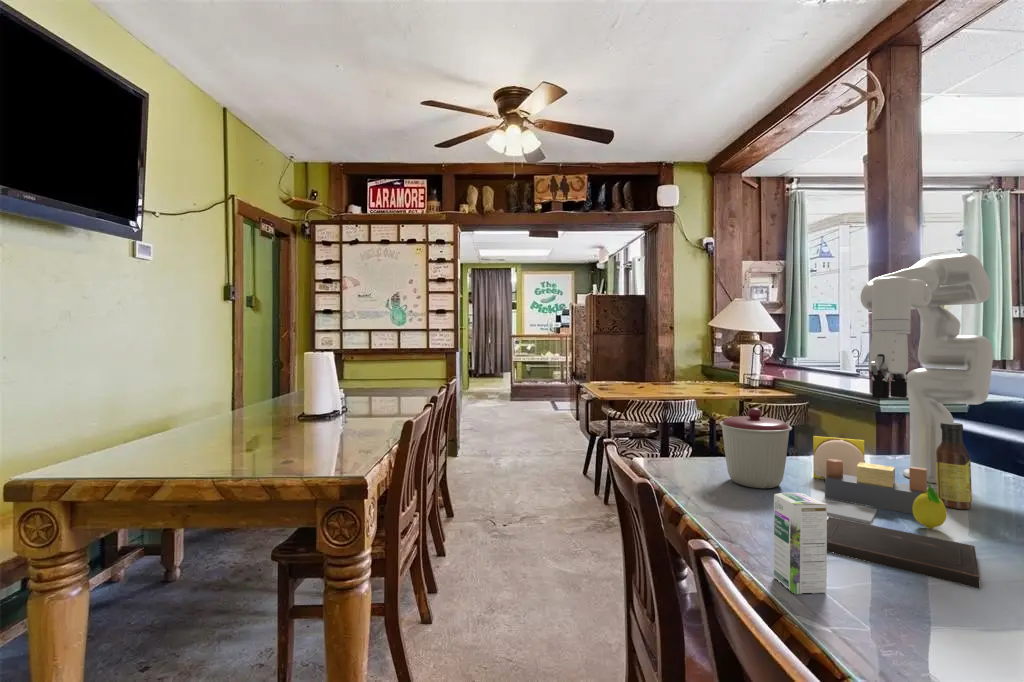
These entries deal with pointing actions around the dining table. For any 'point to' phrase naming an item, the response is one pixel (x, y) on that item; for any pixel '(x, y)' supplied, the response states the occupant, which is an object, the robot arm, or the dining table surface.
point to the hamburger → (837, 454)
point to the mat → (850, 511)
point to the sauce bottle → (953, 468)
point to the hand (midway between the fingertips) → (889, 397)
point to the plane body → (874, 489)
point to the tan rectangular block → (876, 474)
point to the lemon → (929, 509)
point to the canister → (755, 449)
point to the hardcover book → (904, 551)
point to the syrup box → (800, 543)
